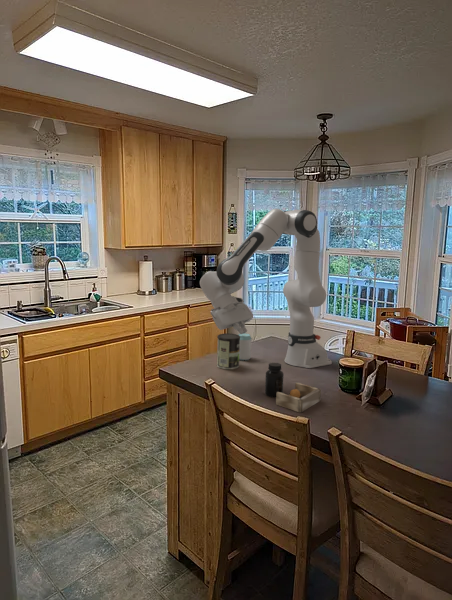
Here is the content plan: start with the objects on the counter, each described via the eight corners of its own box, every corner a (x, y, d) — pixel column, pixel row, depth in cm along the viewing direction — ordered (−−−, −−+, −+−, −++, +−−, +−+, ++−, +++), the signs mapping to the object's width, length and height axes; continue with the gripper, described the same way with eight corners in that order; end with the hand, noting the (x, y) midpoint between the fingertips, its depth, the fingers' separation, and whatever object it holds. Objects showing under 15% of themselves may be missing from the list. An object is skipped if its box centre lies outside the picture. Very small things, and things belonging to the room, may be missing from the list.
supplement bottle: (281, 391, 168) (283, 362, 166) (283, 398, 161) (285, 367, 159) (264, 390, 168) (265, 361, 166) (265, 397, 161) (266, 366, 159)
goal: (275, 404, 155) (276, 392, 155) (296, 393, 166) (297, 382, 166) (300, 412, 149) (301, 400, 148) (320, 400, 160) (321, 389, 159)
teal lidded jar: (252, 360, 205) (253, 336, 203) (238, 361, 203) (239, 336, 201) (248, 356, 212) (249, 332, 210) (234, 356, 210) (235, 333, 208)
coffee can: (239, 362, 202) (240, 333, 199) (239, 369, 191) (240, 339, 189) (217, 361, 202) (217, 332, 199) (216, 369, 192) (217, 338, 189)
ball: (304, 394, 160) (296, 396, 163) (297, 385, 160) (290, 388, 162) (300, 401, 157) (292, 403, 160) (293, 392, 157) (285, 395, 160)
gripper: (212, 305, 167) (232, 333, 163) (244, 297, 183) (263, 323, 178) (204, 314, 171) (223, 342, 167) (236, 306, 186) (254, 332, 182)
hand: (244, 332), depth 173 cm, fingers closed
